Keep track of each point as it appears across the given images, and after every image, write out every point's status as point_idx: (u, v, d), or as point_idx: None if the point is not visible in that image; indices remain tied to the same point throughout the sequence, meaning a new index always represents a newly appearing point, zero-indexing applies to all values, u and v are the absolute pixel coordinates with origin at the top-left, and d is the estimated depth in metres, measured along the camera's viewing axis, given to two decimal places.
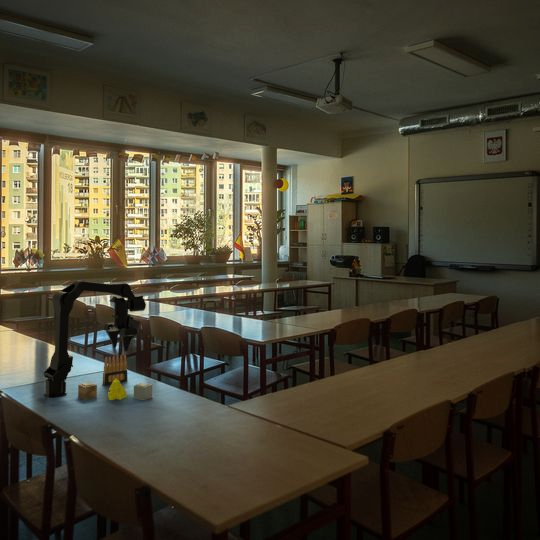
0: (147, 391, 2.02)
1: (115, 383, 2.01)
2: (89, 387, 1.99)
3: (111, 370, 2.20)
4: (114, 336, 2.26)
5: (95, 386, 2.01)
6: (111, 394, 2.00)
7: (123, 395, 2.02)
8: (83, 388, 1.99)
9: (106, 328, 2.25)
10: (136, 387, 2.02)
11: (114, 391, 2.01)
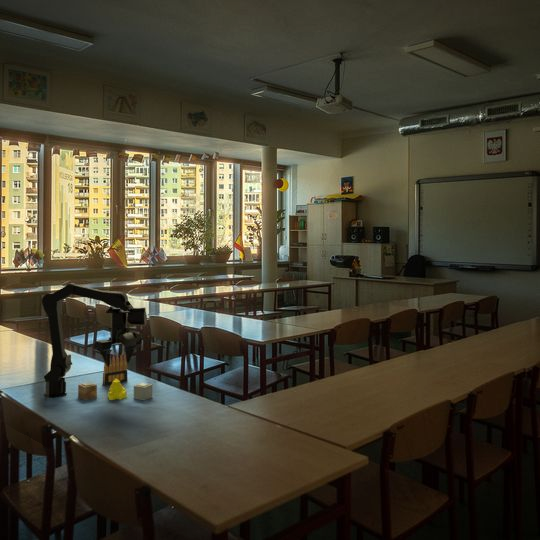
0: (147, 391, 2.02)
1: (115, 383, 2.01)
2: (89, 387, 1.99)
3: (111, 370, 2.20)
4: (128, 350, 2.08)
5: (95, 386, 2.01)
6: (111, 394, 2.00)
7: (123, 395, 2.02)
8: (83, 388, 1.99)
9: None
10: (136, 387, 2.02)
11: (114, 391, 2.01)
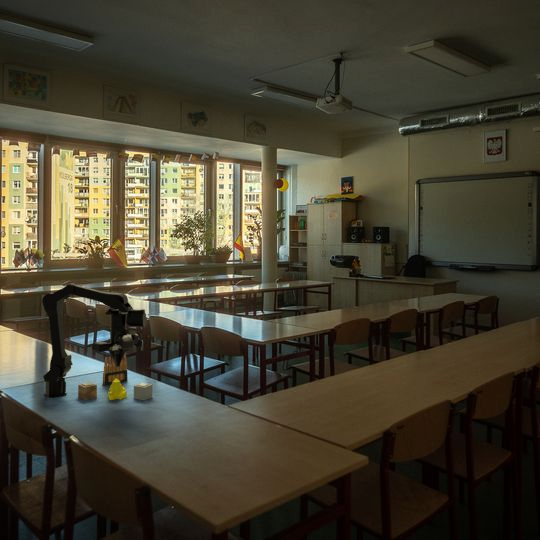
0: (147, 391, 2.02)
1: (115, 383, 2.01)
2: (89, 387, 1.99)
3: (111, 370, 2.20)
4: None
5: (95, 386, 2.01)
6: (111, 394, 2.00)
7: (124, 395, 2.02)
8: (83, 388, 1.99)
9: None
10: (136, 387, 2.02)
11: (114, 391, 2.01)
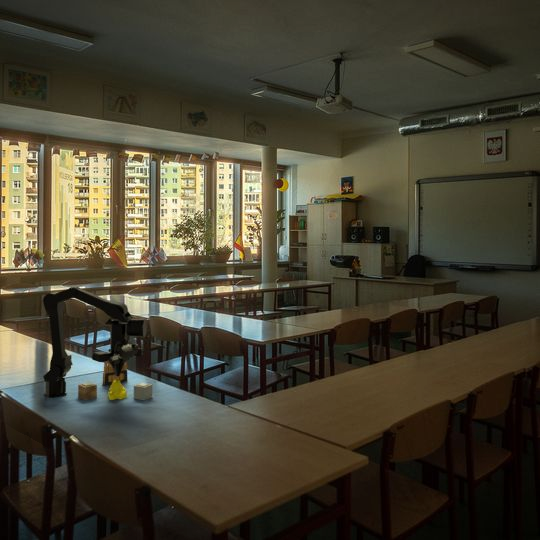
0: (147, 391, 2.02)
1: (115, 383, 2.01)
2: (89, 387, 1.99)
3: (111, 370, 2.20)
4: None
5: (95, 386, 2.01)
6: (111, 394, 2.00)
7: (124, 395, 2.02)
8: (83, 388, 1.99)
9: None
10: (136, 387, 2.02)
11: (114, 391, 2.01)
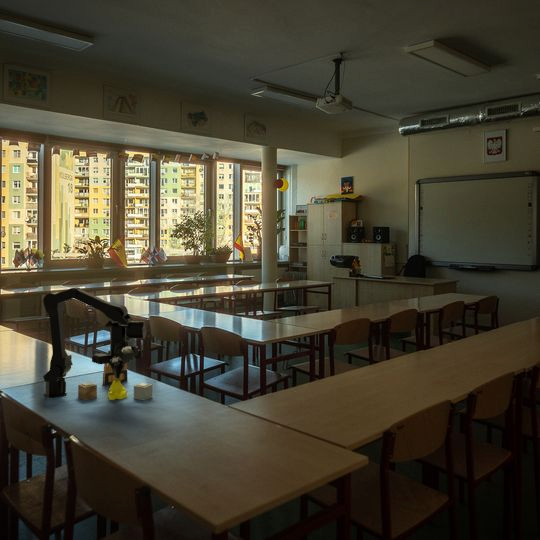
0: (147, 391, 2.02)
1: (115, 383, 2.01)
2: (89, 387, 1.99)
3: (111, 370, 2.20)
4: (118, 366, 2.03)
5: (95, 386, 2.01)
6: (111, 394, 2.00)
7: (124, 395, 2.02)
8: (83, 388, 1.99)
9: None
10: (136, 387, 2.02)
11: (114, 391, 2.01)
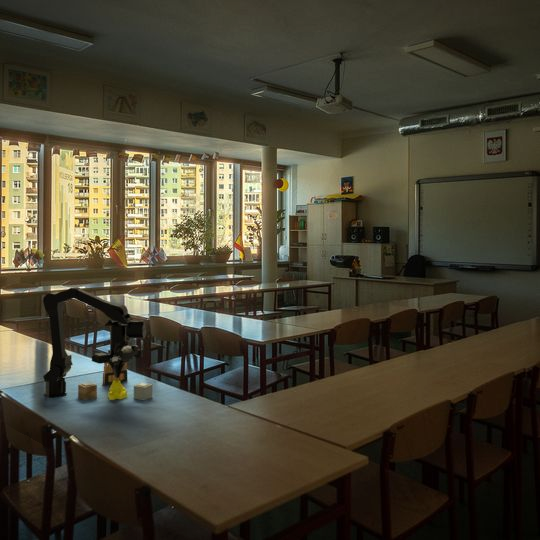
0: (147, 391, 2.02)
1: (115, 383, 2.01)
2: (89, 387, 1.99)
3: (111, 370, 2.20)
4: (118, 365, 2.03)
5: (95, 386, 2.01)
6: (111, 394, 2.00)
7: (124, 395, 2.02)
8: (83, 388, 1.99)
9: None
10: (136, 387, 2.02)
11: (114, 391, 2.01)
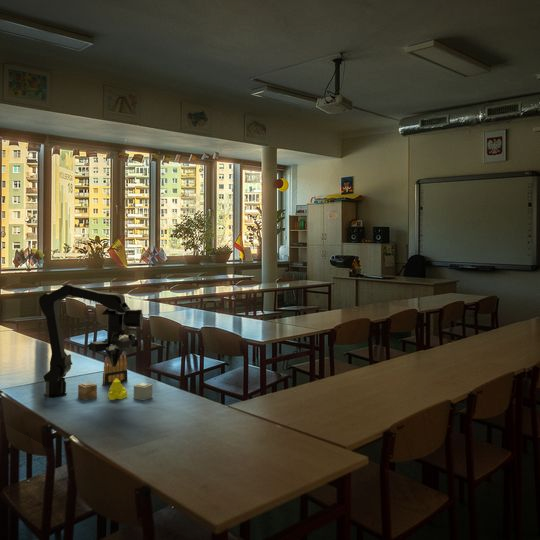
0: (147, 391, 2.02)
1: (115, 383, 2.01)
2: (89, 387, 1.99)
3: (111, 370, 2.20)
4: (115, 354, 2.03)
5: (95, 386, 2.01)
6: (112, 394, 2.00)
7: (124, 395, 2.02)
8: (83, 388, 1.99)
9: None
10: (136, 387, 2.02)
11: (115, 391, 2.01)
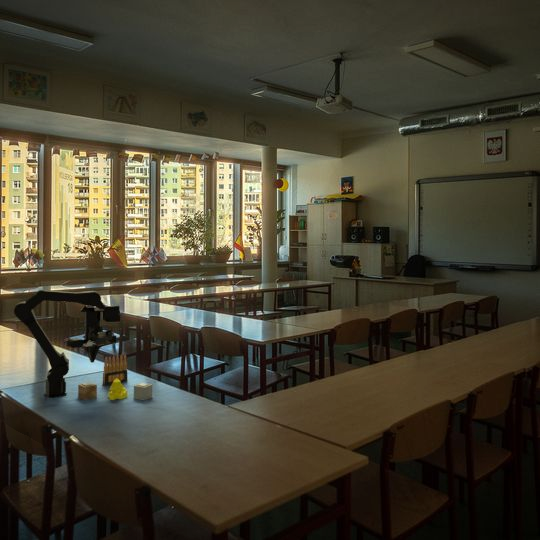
0: (147, 391, 2.02)
1: (116, 383, 2.01)
2: (89, 387, 1.99)
3: (111, 370, 2.20)
4: (93, 350, 2.08)
5: (95, 386, 2.01)
6: (112, 394, 2.00)
7: (124, 395, 2.03)
8: (83, 388, 1.99)
9: None
10: (136, 387, 2.02)
11: (115, 391, 2.01)
